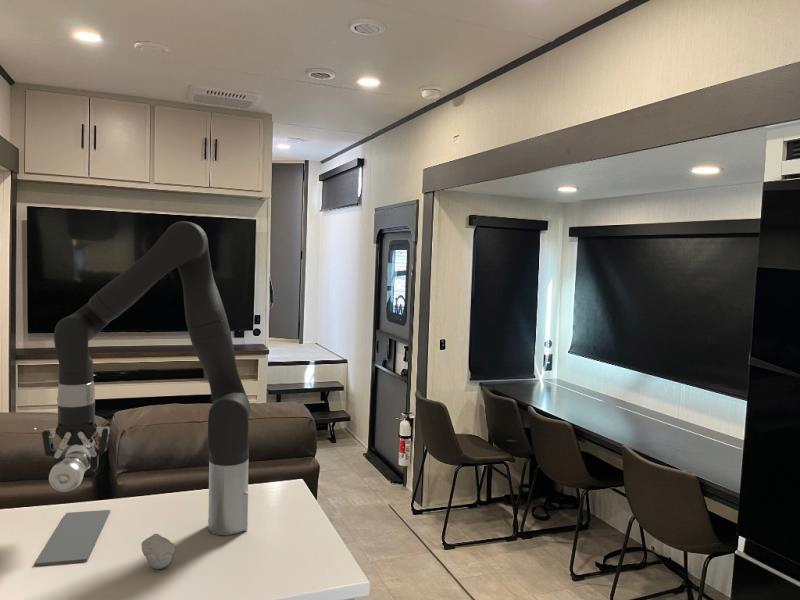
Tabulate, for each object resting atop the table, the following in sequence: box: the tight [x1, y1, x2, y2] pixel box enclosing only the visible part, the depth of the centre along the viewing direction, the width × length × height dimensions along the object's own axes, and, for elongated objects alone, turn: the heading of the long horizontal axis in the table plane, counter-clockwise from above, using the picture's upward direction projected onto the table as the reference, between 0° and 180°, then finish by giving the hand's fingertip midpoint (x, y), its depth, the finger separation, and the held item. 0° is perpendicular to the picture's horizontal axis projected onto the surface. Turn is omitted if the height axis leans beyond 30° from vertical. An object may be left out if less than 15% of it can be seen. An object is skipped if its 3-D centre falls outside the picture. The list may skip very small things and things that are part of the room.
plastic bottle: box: [48, 445, 91, 493], centre depth 138 cm, size 6×7×20 cm
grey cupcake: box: [141, 533, 176, 570], centre depth 129 cm, size 6×7×7 cm
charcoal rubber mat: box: [34, 509, 111, 567], centre depth 140 cm, size 10×24×1 cm, turn 15°
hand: (77, 471), depth 140 cm, fingers closed on plastic bottle, 6 cm apart
